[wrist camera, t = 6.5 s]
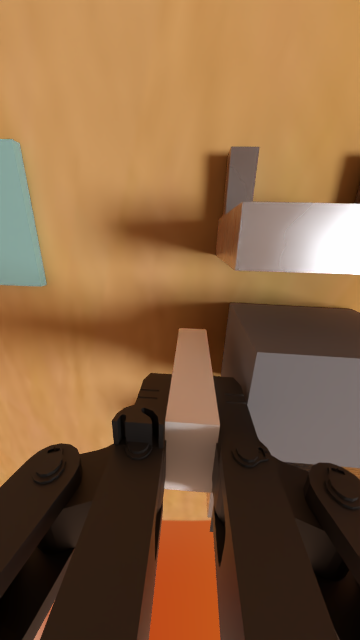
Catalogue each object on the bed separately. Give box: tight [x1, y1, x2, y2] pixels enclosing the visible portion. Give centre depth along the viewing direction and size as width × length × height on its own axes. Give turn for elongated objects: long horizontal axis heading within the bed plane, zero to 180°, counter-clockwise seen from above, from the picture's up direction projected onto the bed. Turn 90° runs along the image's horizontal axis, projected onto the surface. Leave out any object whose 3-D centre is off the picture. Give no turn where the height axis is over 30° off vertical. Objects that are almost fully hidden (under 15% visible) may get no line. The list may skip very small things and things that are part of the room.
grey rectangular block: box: [221, 303, 360, 468], centre depth 11 cm, size 5×7×6 cm
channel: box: [206, 147, 360, 518], centre depth 11 cm, size 19×8×6 cm, turn 179°
